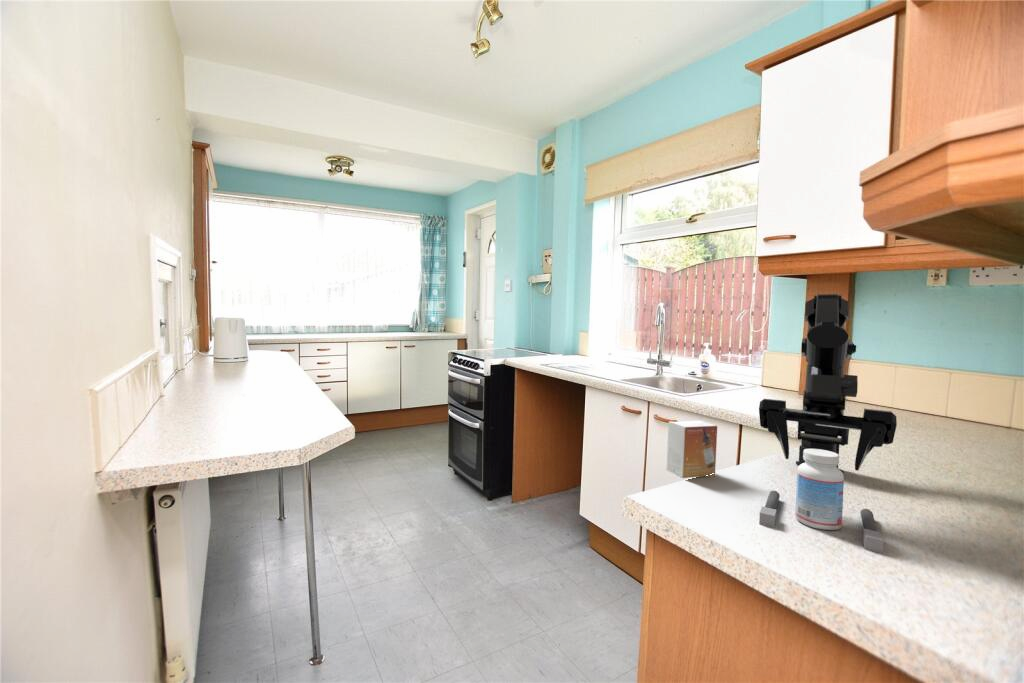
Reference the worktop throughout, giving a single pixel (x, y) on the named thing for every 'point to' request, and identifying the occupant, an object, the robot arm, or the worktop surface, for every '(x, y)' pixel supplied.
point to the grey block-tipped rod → (769, 510)
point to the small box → (691, 448)
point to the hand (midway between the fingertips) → (820, 463)
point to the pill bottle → (819, 490)
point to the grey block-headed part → (871, 532)
